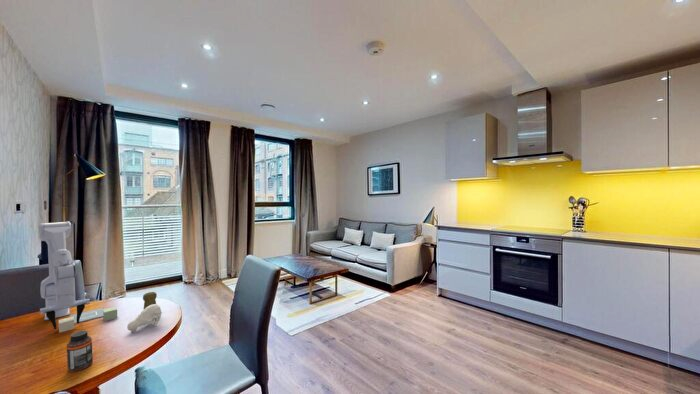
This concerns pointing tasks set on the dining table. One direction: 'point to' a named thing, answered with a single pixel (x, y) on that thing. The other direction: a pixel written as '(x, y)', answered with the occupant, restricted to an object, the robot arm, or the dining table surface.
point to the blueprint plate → (89, 315)
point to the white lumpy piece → (146, 317)
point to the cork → (149, 299)
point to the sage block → (110, 313)
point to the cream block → (66, 324)
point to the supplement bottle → (79, 351)
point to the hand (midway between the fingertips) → (66, 325)
